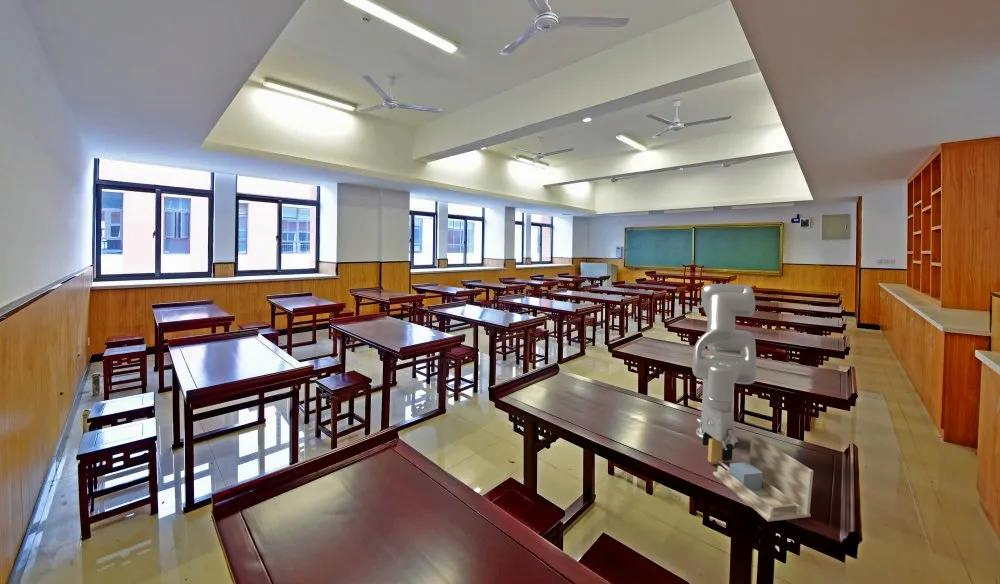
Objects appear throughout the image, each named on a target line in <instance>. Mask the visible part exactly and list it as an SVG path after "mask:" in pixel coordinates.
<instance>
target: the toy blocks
mask: <svg viewBox="0 0 1000 584" xmlns="http://www.w3.org/2000/svg"><path fill="white" fill-rule="evenodd" d="M725 442H726V441H725ZM707 446H708V448H707V461H708V462H709V463H719V464H720V466H721V465H722V466H721V467H723V468H724V469H725V470H726V471H727V470H729V473H730V474H731V475H732V476H733V477H735V478H736V479H737V480H738V481H740V482H741V483H742V484H743V485H745V486H746V487H747V488H748V489H750V490H754V489H762V476H763V473H762V472H761V471H760V470H758V469H757V468H755V467H754V466H753V465H751V464H750V463H749V462H748V461H744V462H743V461H742V462H732V463H731V462H730V463H729V466H728V465H727V464H725V463H724V462H725V461H723V460H722V448H724V447H723V444H722V441H721V442H719V441H717V440H716V439H714V438H712V439H709V445H707Z"/></svg>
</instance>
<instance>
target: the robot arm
mask: <svg viewBox="0 0 1000 584" xmlns="http://www.w3.org/2000/svg"><path fill="white" fill-rule="evenodd" d="M700 298H701V304H702V308H703V311H704V313H705V315H706V319H707V324H706V325H707V327H706V328H707V330H706V332H705V333H704V334H702V335H701V336H700V337H699V338H698V339H697V340H696V343H695V345H694V347H693V351H692V365H691V367H692V368H691V369H692V370H691V371H692V374H693V375H694V376H695V377H696V378H697V379H702V401H701V416H700V417H699V418H697V419H696V421H697V423H698V424H699V427H698V428H696V429H695V435H696V436H697V437H698V438H700V439H701V440H702V445H703V446H709V439H712V438H714V439H716V440H717V441H719V442H721V441H722V444H723V447H724V448H722V460H723V461H724V462H725V461H732V460H733V450H735V448H736V447H737V446H738V444H739V440H738V438H737V437H736V435H735V434H734V433H735V431H734V430H735V419H734V411H733V410H734V409H733V408H734V393H735V384H740V385H752V384H753V383H755V381H756V378H757V349H756V339H755V336H754V334H753V333H752V332H750V331H747V330H741V329H740V330H739V329H736V317H752V316H753V315H754V313H755V311H756V310H755V309H756V297H755V294H754V290H753V288H752V287H751V286H750V285H747V284H728V283H711V284H707V285H705V286H703V287H702V289H701V297H700ZM706 347H707V349H708V350H709V352H712V353H714V354H707V355H705V356H702V353H703V350H704V349H705V348H706ZM725 441H726V442H725Z"/></svg>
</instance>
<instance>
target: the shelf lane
mask: <svg viewBox="0 0 1000 584" xmlns="http://www.w3.org/2000/svg"><path fill="white" fill-rule="evenodd" d="M749 444H750V445H749V457H748V458H749V462H748V463H750V464H751V465H753V466H754V467H755V468H757V469H758V470H760V471H761V472H762V473H763V476H762V489H754V490H750V489H748V488H747V487H746V486H745V485H743V484H742V483H741V482H740V481H738V480H737V479H736V478H735V477H733V476H732V475H731V474H730V473H729V470H727V469H726V468H725V467H723V466H721V465H717V469H716V470H717V471H713V472H712V475H713V476H715V477H716V478H717V479H718V480H719V481H720V482H721V483H723V484H724V486H726V487H727V488H728V489H729V490H731V491H732V492H733V493H734V494H735V495H737V497H739V498H740V499H741V500H742V501H744V503H745V504H747V505H749V507H751V508H752V510H754V511H756V513H758V515H760V516H761V517H762V518H763V519H764V520H766V521H767V522H775V521H784V520H793V519H800V518H801V519H802V518H809V517H810V518H811V517H812V516H811V515H812V514H811V513H810V512H811V499H812V490H813V476H814V470H813V469H811V468H809V467H808V466H806V465H804V464H803V463H801V462H800V461H798V460H797V459H795V458H794V457H792V456H790V455H789V454H787V453H786V452H784V451H782V450H780V449H779V448H778V447H776V446H774V445H772V444H770V443H769V442H768V441H766V440H764V439H762V438H761V437H759V436H758V435H756V434H754V433H751V434H750V443H749Z"/></svg>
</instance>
